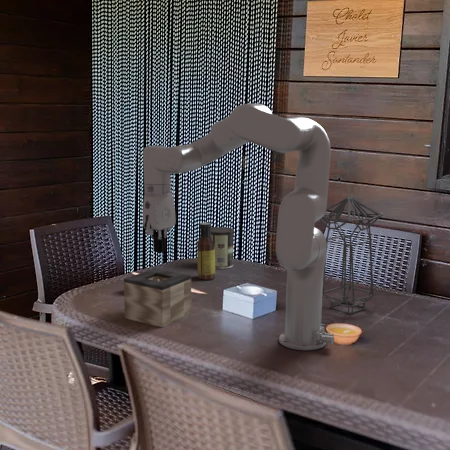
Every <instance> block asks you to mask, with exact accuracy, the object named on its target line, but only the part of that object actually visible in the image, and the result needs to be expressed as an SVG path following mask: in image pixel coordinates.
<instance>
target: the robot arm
mask: <svg viewBox="0 0 450 450" xmlns="http://www.w3.org/2000/svg"><path fill="white" fill-rule="evenodd" d="M248 143H251V144H254V145H258V146H259V147H260V146H261V147H263V148H266V149H269V150H271V151H274V152H278V153H280V154H290V153H293V152H298V161H297V164H296V168H295V182H294V188H293V189H294V190H293V191H290V192H288V193H287V194H286V195H285V196H284V197H283V199H282V200H281V203H280V205H279V207H278V208H279V209H278V215H277V227H276V238H275V239H276V240H275V255H276V258H277V260H278V262H279V264H280V265H281V267H283V268H284V269H286V270H287V272H286V273H287V274H286V276H287V277H286V290H285V291H286V293H285V294H286V296H285V319H284V321H285V323H284V324H285V325H284V332H282V333H280V335H279V337H278V340H279V341H278V342H279V343H280V345H282V346H284V347H286V348H288V349H292V350H297V351H316V350H319V349H321V348H324V347H325V346H326V345H327V344H330V345H333V344H334V342H335V337H334V333H328V332H326V331H325V326H323V325H322V314H323V313H322V309H323V295H322V292H323V275H324V265H325V259H326V260H327V255H326V252H328V244H327V243H326V236H325V235H324V233H323V231H321V230H320V229H318V228H317V227H315V224H316V222H318V221H320V219H321V218H322V217H323V216H324V214H326V212H327V211H326V209H327V208H328V207H327V206H328V195H329V193H328V192H329V184H330V183H329V182H330V171H331V170H330V167H331V157H332V155H331V153H332V152H331V151H332V150H331V147H332V146H331V142H330V139H329V136H328V134H327V133H326V131H325V129H324V128H323V127H322V126H321V125H320V124H319V123H317V121H315V120H313V119H311V118H308V117H304V116H292V117H287V118H285V117H282V116H280V115H279V116H278V115H277V114H273V113H272V111H271V109H270V108H269V107H268V106H267V105H264V104H263V103H259V102H258V103H255V102H254V103H244V104H240V105H238V106H236V107H235V108H233V110H232V111H231V113H230V114H229V116H227V117H225V118H223V119H221V120H219V121H217V122H215V123H213V124H212V125H211V127H210V132H209V133H207V134H206V135H204V136H203V137H201V138H198V139H197V140H195V141H193V142H190V143H188V144H182V145H181V144H180V145H176V146H170V147H168V146H165V145H150V146H149V145H148V146H146V147H144V149H143V151H142V152H143V153H142V158H143V185H144V187H143V188H144V195H143V205H142V206H143V207H142V224H143V229H145V235H149V236H151V239H152V240H153V241H152V242H153V244H152V245H153V252H154V253H160V254H163V253H166V252H167V251H166V250H167V248H166V247H167V246H166V245H167V243H166V238H167V237H168V235H167V234H168V232H169V231H170V230H171V229H172V228H173V227H175V225H176V223H177V222H176V219H177V217H176V208H175V200H174V195H173V192H172V189H171V182H172V181H171V180H172V179H171V174H172V175H173V174H174V175H176V174H184V173H187V172H191V171H194V170H198V169H200V168H202V167H204V166H206V165H208V164H210V163H212V162H214V161H216V160H218V159H220V158H221V157H223V156H225V155H227V154H228V153H230V152H232V151H234V150H236V149H238V148H239V147H242V146H243V145H245V144H248ZM324 217H325V216H324Z"/></svg>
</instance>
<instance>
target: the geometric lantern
mask: <svg viewBox="0 0 450 450" xmlns="http://www.w3.org/2000/svg"><path fill="white" fill-rule="evenodd" d="M346 205H347V209H345V208H346ZM334 207H335V208H334ZM351 207H352V209H351ZM333 208H334V209H333ZM364 208H365V209H367V210H369V212H372V213H369V212H367V211H366V210H365V209H364ZM331 209H333V210H332V211H331V212H330V213H329V214H328V213H325V214H324V216H323V217H322V218H321V219H320V220H319V221H320V222H321V223H322V224H323V225H324V226H325V227H326V228H327V233H326V236H325V239H326V243H327V245H328V243H332V244H338V245H343V251H342V263H341V264H342V266H341V267H342V268H341V280H340V286H337V287H334V288H331V289H327V290H325V283H326V281H325V278H326V266H327V265H326V264H327V258H326V259H325V265H324V275H323V292H322V297H325V298H326V299H327V301H329V302H330V303H329V304H330V306H329V307H330V308H331V309H333V310H335V311H336V310H337V311H340V312H341V313H342V312H343V313H346V314H350V315H351V314H355V313H358V312H360V311H363V310H366V309H367V308H366V303H367V302H369V301H370V300H371V299H373V298H374V297H375V289H374V273H373V254H372V253H373V249H372V248H373V247H372V246H373V245H372V243H373V242H372V241H373V239H372V234H371V226H372V225H374V224H375V223H376V222H377V221H378V220H379V219H380V218H381V217H383V216H384V215H383V213H380V212H379V211H377V210H375V209H374V208H372V207H370V206H368V205H367V204H365V203H363V202H362V201H360V200H358V199H356V198H354V197H353V196H352V197H349V196H348V197H345V198H344V199H341V200H340V201H338V202H337V203H334V204H333V205H331V206H328V207H327V209H326V212H327V211H329V210H331ZM345 211H347V219H340V217H341V216H342V215H343V212H345ZM351 215H352V216H353V218H354V219H352V220H351ZM371 216H373V217H371ZM333 217H335V219H334V218H333ZM364 221H365V222H364ZM366 221H367V222H366ZM339 222H340V223H341V224H340V225H339ZM349 222H350V223H351V222H352V223H353V224H355V228H354V230H352V232H351V233H350V235H346V234H345V232H344V230H343V229H342V228H341V227H343V226H345V225H346V224H348V223H349ZM357 222H358V223H357ZM331 224H334V227H331ZM360 224H361V226H360ZM364 225H365V226H364ZM357 229H359V230H358V232H357V233H356V235H354V234H355V232H356V230H357ZM331 230H337V233H338V236H334V237H329V235H330V231H331ZM365 230H366V231H367V236H368V238H367V237H361V236H359V234H360V232H361V231H365ZM341 232H342V233H341ZM338 238H339V239H340V238H341V239H342V242H343V243H342V242H341V243H340V242H336V241H334V239H338ZM346 238H349V243H347V242H346V240H347V239H346ZM352 238H353V240H352ZM356 238H357V239H362V240H367V241H364V242H358V243H354V242H355V240H356ZM332 240H333V241H332ZM353 243H354V244H353ZM364 244H368V247H369V248H368V249H369V263H370V264H369V265H370V271H369V272H370V291H369V290H365V289H361V288H357V287H355V280H354V276H355V275H354V251H353V250H354V248H353V247H354V246H358V245H364ZM347 247H349V267H348V268H349V272H348V276H349V279H348V280H349V281H348V283H349V284H348V285H349V286H348V285H347ZM327 252H328V251H327ZM327 252H326V256H327V254H328V253H327ZM346 285H347V286H346ZM339 289H341V292H342V296H339V297H335V296H331V295H327V294H326V293H328V292H332V291H335V290H339ZM347 289H348V291H346V290H347ZM355 290H356V291H359V292H364V293H367V294H368V295H367V296H363V297H360V298H356V297H355ZM350 291H352V292H351V293H352V296H351V297H350V296H349V294H350ZM346 292H347V294H346ZM331 299H332V300H331ZM348 299H351V300H348ZM335 301H339V302H335ZM358 301H361V302H359V303H356V302H358ZM349 305H350V306H349ZM336 306H343V307H345V308H347V311H345V310H342V309H339V308H336ZM354 307H360V309H357V310H355V311H354ZM350 308H351V312H350Z"/></svg>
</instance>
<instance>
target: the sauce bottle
mask: <svg viewBox="0 0 450 450" xmlns="http://www.w3.org/2000/svg"><path fill="white" fill-rule="evenodd" d="M198 227H199V238H198V240H197V242H196V247H197V248H196V249H197V250H196V253H197V254H196V255H197V256H196V257H197V258H196V259H197V261H196V262H197V275H198V276H197V277H198V279H200V280H204V281H205V280H206V281H208V280H213V279H215V278H216V277H215V276H216V269H215V247H214V243H213V240H212V237H211V229H210V228H212V223H211V222H206V221H205V222H200V223H199V226H198Z"/></svg>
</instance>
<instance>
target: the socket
mask: <svg viewBox="0 0 450 450" xmlns="http://www.w3.org/2000/svg"><path fill="white" fill-rule="evenodd" d="M158 279H159V281H157V280H158ZM123 293H124V302H123V303H124V319H127V320H131V321H135V322H139V323H143V324H147V325H150V326H151V325H152V326H155V327H160V328H164V327H166V326H168V325H169V326H170V325H171V324H173V323H176V322H177V321H180V320H182V319H183V318H185V317H187V316H190V315H192V275H190V274H185V273H180V272H174V271H170V270H165V269H164V270H163V269H158V268H151V269H149V270H146V271H143V272H139V273H137V274H134V276H133V275H132V276H127V277H125V278H123Z"/></svg>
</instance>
